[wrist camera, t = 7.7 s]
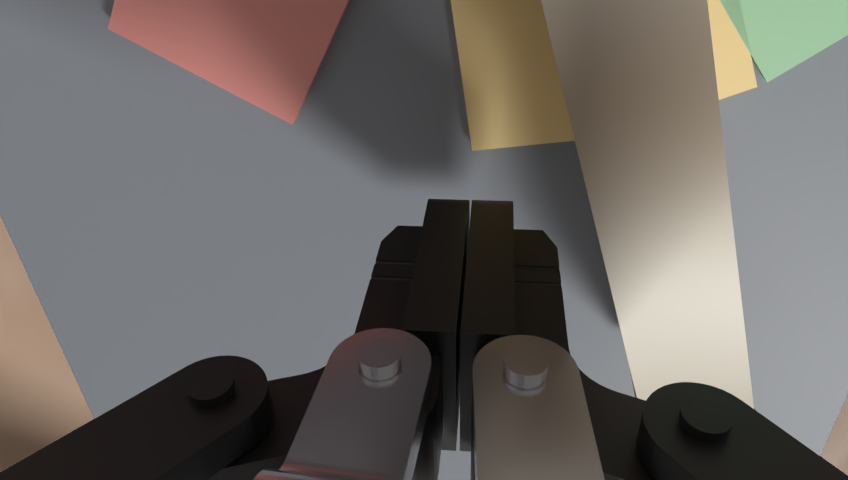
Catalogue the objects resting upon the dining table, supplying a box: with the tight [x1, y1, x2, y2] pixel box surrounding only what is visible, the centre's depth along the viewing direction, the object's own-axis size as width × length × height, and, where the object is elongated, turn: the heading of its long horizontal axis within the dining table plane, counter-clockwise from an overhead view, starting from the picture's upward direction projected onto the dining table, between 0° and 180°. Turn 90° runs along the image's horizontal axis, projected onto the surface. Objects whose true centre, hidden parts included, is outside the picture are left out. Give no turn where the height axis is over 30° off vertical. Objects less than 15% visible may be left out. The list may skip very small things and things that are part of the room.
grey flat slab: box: [0, 0, 848, 480], centre depth 13 cm, size 24×19×2 cm
